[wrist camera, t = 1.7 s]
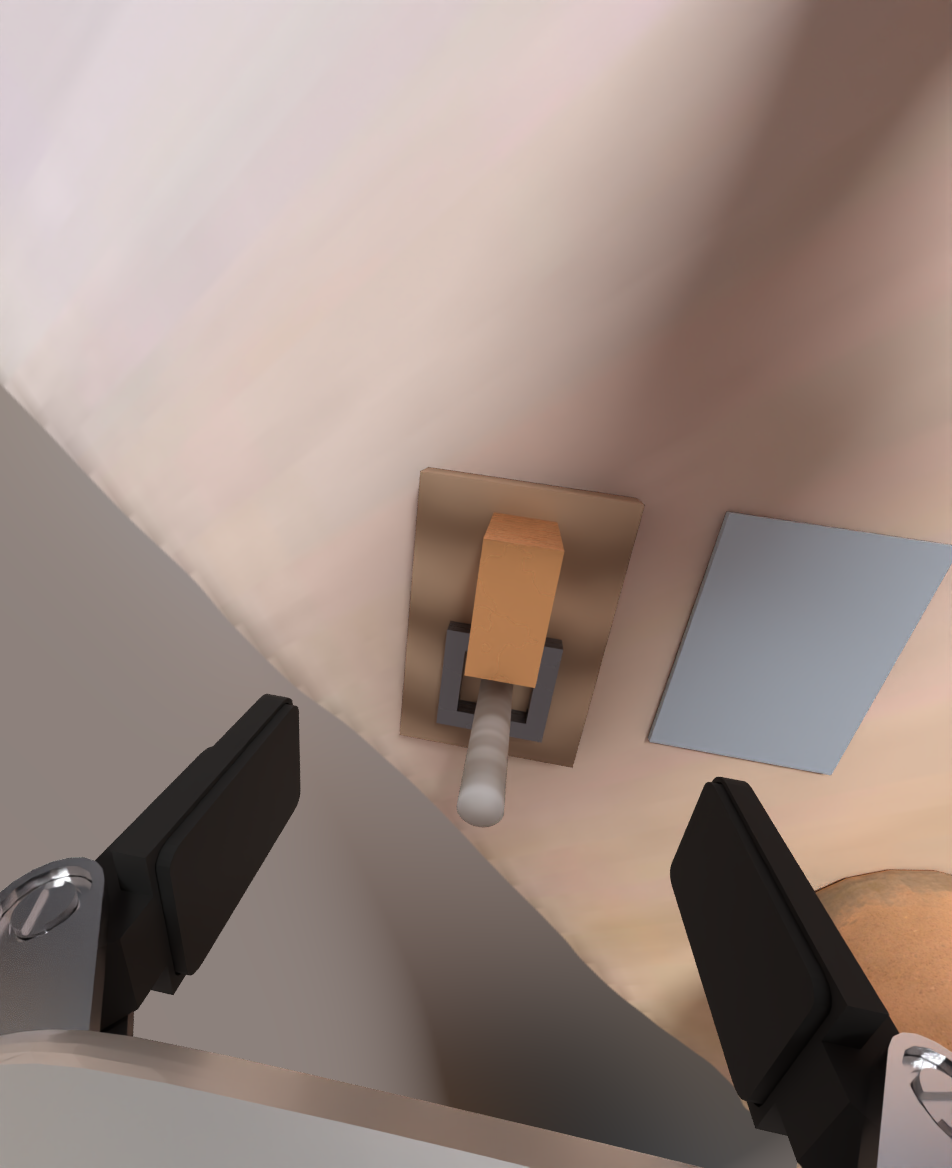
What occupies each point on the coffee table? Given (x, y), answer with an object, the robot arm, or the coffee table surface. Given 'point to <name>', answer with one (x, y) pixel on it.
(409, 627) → the post stand
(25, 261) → the coffee table surface
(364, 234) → the coffee table surface
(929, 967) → the pottery
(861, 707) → the mat
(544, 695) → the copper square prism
